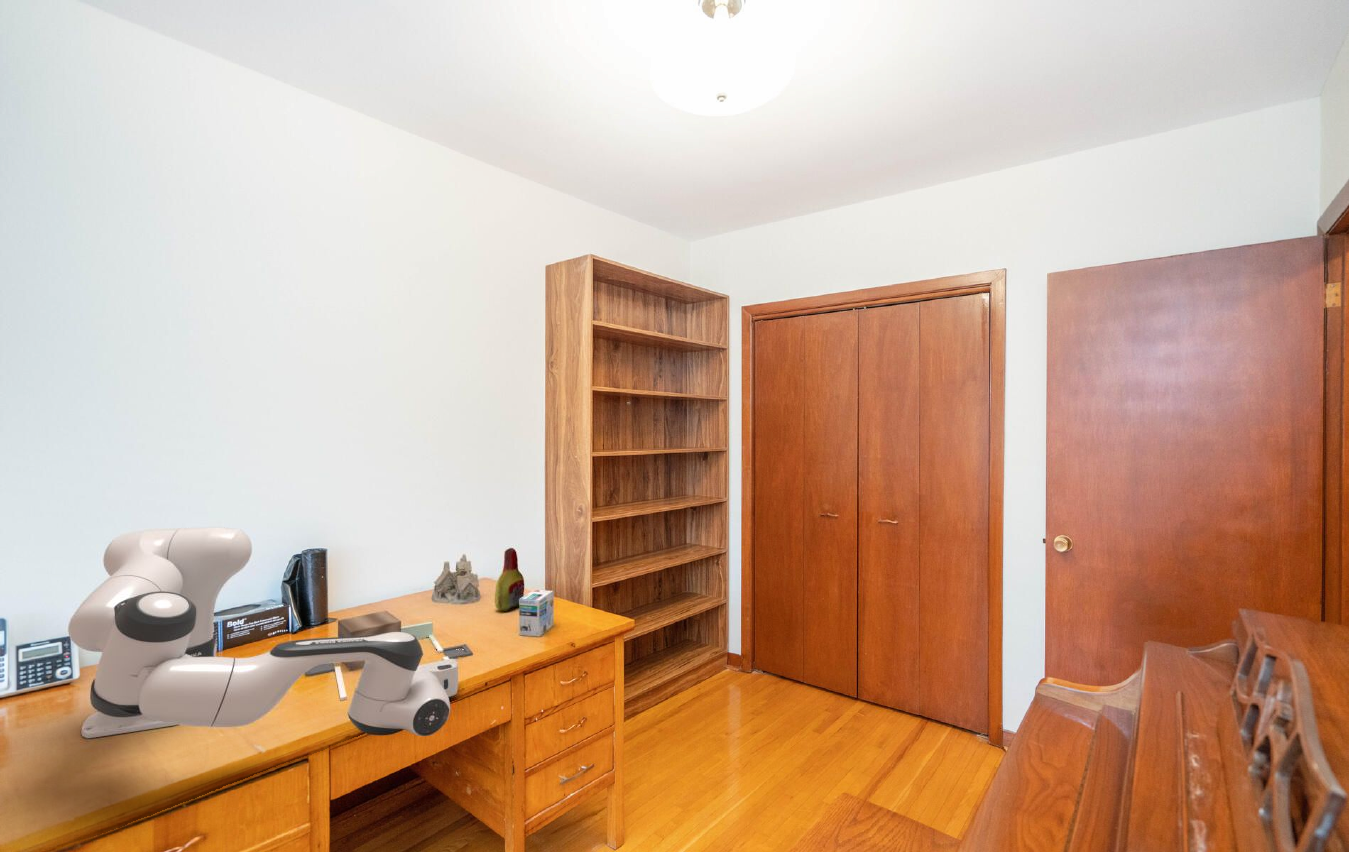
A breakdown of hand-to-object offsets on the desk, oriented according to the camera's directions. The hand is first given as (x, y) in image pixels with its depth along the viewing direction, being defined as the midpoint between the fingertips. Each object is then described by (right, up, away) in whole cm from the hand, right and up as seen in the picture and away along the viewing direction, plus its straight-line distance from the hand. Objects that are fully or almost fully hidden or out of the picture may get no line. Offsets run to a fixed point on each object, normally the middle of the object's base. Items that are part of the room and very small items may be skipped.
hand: (405, 667), depth 141 cm
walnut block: (-17, -4, +16) cm, 24 cm away
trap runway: (-9, -4, +13) cm, 16 cm away
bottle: (+9, -4, +59) cm, 59 cm away
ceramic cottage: (-14, -4, +70) cm, 71 cm away
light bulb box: (+22, -4, +38) cm, 44 cm away
